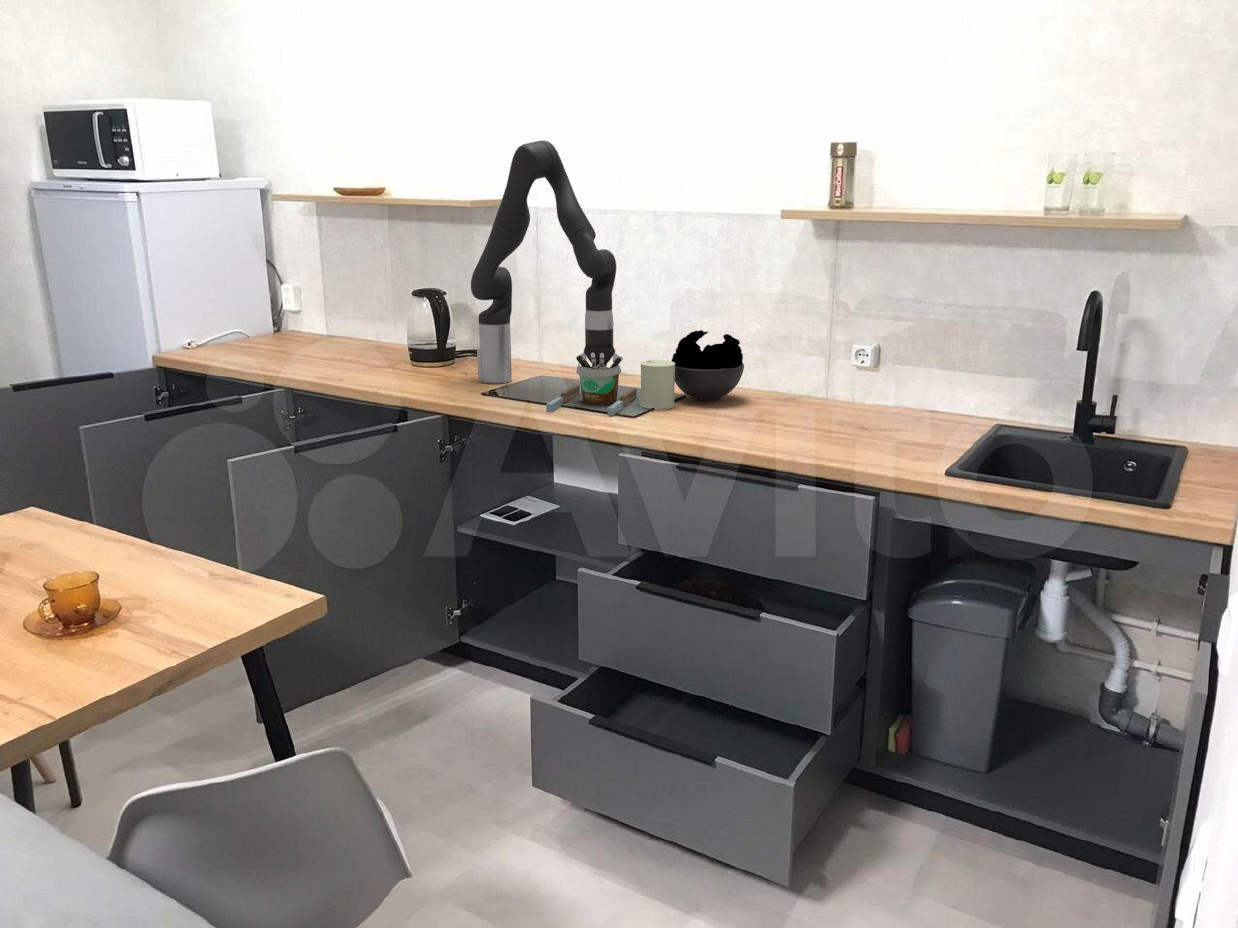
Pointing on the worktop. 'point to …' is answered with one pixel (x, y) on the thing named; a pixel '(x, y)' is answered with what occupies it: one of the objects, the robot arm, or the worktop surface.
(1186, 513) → the worktop surface
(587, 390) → the food container
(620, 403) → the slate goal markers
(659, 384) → the can
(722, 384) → the coal bowl
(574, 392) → the walnut channel
